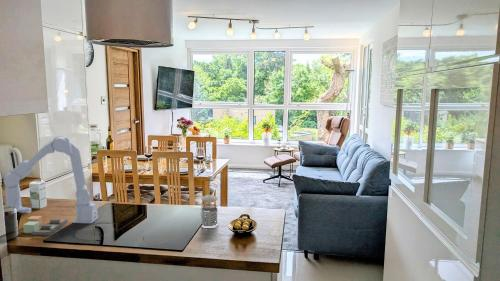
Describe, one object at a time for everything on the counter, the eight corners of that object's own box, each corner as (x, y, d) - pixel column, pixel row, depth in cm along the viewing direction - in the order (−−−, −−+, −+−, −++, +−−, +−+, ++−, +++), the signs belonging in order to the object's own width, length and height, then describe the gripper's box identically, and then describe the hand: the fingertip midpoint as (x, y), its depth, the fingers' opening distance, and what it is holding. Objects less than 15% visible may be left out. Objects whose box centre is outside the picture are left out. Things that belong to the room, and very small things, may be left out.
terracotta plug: (42, 223, 172) (42, 216, 171) (37, 227, 168) (37, 219, 167) (32, 223, 172) (32, 215, 171) (27, 226, 168) (26, 218, 167)
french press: (223, 223, 176) (223, 175, 173) (210, 231, 166) (211, 180, 162) (206, 220, 181) (206, 172, 177) (193, 228, 170) (193, 177, 166)
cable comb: (67, 222, 174) (67, 217, 174) (49, 235, 158) (49, 230, 158) (51, 222, 174) (51, 217, 174) (31, 234, 159) (31, 229, 158)
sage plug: (40, 229, 165) (39, 221, 164) (34, 233, 161) (34, 224, 160) (29, 229, 165) (28, 221, 164) (23, 233, 161) (23, 224, 160)
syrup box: (47, 205, 198) (45, 180, 195) (40, 209, 192) (38, 183, 190) (37, 205, 198) (36, 180, 196) (30, 208, 192) (28, 182, 190)
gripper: (34, 196, 164) (36, 224, 166) (3, 196, 165) (6, 223, 167) (24, 201, 158) (27, 230, 159) (-8, 200, 158) (-5, 229, 160)
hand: (15, 227), depth 163 cm, fingers closed
